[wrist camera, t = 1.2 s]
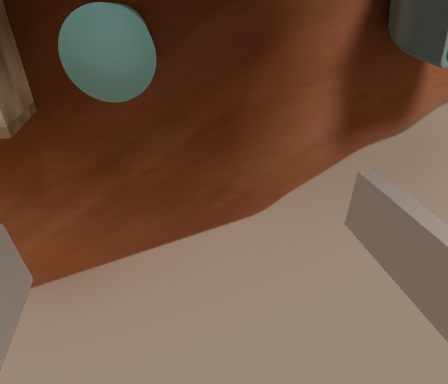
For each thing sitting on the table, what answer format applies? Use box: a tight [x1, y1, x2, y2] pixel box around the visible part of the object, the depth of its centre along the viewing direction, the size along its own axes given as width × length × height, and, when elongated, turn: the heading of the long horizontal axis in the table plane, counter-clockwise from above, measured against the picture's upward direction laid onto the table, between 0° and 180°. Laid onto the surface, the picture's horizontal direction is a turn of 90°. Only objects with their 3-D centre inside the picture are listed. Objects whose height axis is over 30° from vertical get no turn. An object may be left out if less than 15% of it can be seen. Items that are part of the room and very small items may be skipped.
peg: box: [58, 2, 156, 102], centre depth 19 cm, size 4×4×14 cm
